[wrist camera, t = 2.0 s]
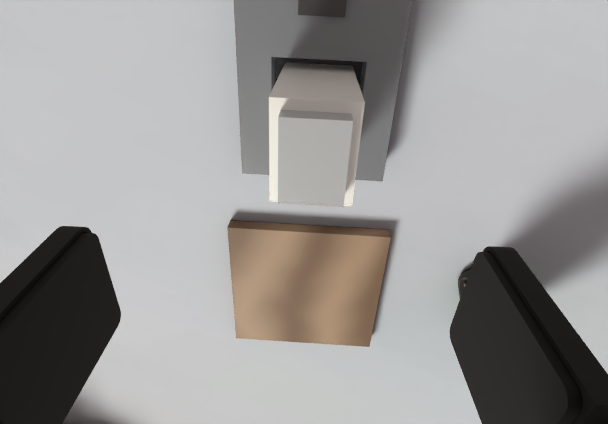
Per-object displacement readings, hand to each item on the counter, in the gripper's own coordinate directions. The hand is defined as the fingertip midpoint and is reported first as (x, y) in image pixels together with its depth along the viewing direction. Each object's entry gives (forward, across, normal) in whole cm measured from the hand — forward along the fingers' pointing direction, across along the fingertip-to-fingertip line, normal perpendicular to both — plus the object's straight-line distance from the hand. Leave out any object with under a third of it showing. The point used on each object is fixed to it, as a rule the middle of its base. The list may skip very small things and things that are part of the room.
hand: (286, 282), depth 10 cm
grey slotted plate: (+16, -1, -4) cm, 17 cm away
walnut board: (+16, -1, +15) cm, 22 cm away
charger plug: (+16, -1, 0) cm, 17 cm away
